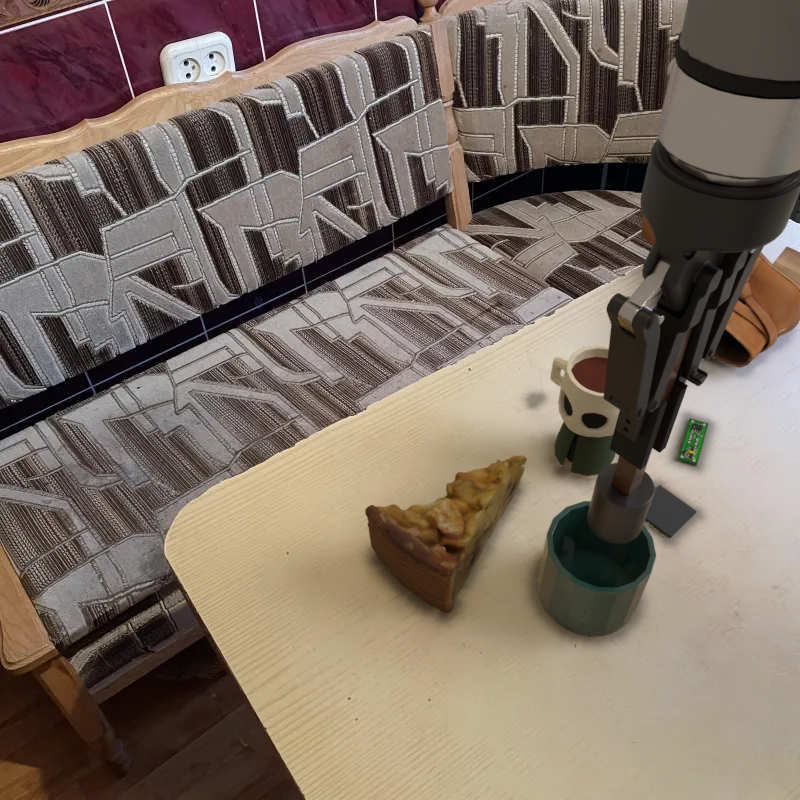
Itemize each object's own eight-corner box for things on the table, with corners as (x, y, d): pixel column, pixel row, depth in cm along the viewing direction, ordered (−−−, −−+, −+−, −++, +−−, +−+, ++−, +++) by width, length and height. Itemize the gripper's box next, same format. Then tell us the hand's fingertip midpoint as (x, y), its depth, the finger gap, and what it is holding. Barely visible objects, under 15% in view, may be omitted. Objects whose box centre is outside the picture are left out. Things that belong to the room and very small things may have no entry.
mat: (695, 513, 76) (696, 510, 75) (669, 538, 74) (670, 536, 73) (658, 486, 78) (659, 484, 78) (632, 511, 76) (633, 508, 76)
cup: (656, 593, 70) (677, 547, 64) (594, 657, 66) (610, 613, 60) (579, 532, 74) (592, 484, 69) (517, 588, 71) (525, 541, 65)
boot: (644, 227, 107) (568, 299, 99) (665, 173, 100) (585, 246, 91) (805, 317, 98) (737, 403, 90) (842, 265, 91) (771, 354, 82)
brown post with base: (652, 522, 62) (730, 317, 46) (619, 554, 60) (688, 351, 44) (609, 490, 64) (668, 284, 48) (575, 519, 62) (625, 315, 46)
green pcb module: (697, 462, 79) (678, 456, 80) (696, 465, 80) (677, 460, 80) (709, 421, 83) (690, 416, 84) (707, 425, 83) (689, 419, 84)
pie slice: (439, 627, 68) (440, 582, 62) (363, 557, 73) (357, 510, 67) (562, 508, 76) (573, 459, 71) (486, 453, 81) (490, 403, 76)
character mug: (521, 447, 82) (534, 361, 72) (561, 411, 85) (578, 324, 76) (607, 504, 76) (632, 420, 67) (645, 464, 80) (675, 377, 70)
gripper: (743, 79, 43) (654, 373, 60) (577, 174, 37) (531, 472, 54) (874, 124, 39) (739, 424, 56) (714, 239, 33) (616, 538, 50)
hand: (637, 447), depth 55 cm, fingers closed on brown post with base, 2 cm apart
